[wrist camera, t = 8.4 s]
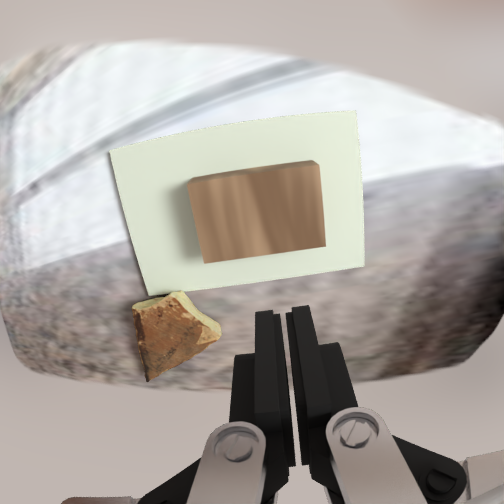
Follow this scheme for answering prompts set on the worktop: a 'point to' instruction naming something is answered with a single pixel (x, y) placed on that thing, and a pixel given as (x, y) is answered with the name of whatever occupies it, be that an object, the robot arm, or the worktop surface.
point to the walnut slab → (258, 211)
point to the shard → (171, 332)
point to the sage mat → (229, 159)
